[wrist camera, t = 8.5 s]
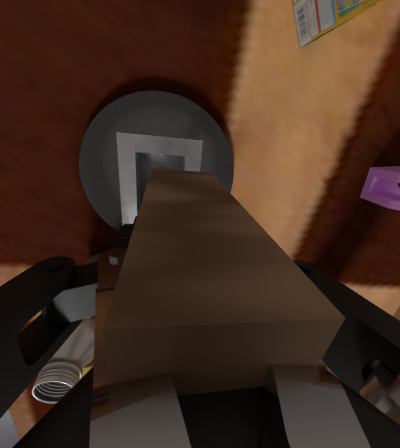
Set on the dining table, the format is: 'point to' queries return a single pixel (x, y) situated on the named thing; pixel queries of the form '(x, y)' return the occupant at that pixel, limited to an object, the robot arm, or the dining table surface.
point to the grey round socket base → (147, 150)
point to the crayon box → (325, 16)
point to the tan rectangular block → (209, 294)
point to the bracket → (383, 187)
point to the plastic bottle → (67, 361)
